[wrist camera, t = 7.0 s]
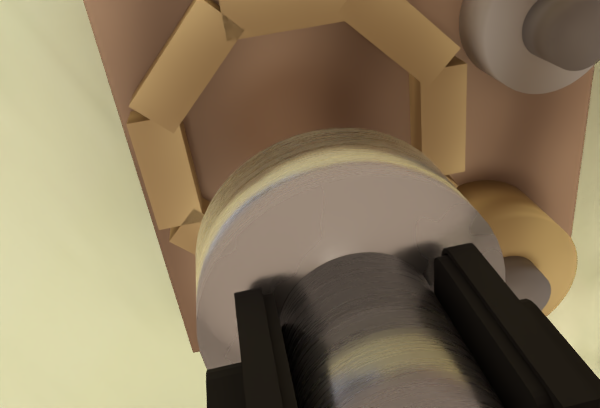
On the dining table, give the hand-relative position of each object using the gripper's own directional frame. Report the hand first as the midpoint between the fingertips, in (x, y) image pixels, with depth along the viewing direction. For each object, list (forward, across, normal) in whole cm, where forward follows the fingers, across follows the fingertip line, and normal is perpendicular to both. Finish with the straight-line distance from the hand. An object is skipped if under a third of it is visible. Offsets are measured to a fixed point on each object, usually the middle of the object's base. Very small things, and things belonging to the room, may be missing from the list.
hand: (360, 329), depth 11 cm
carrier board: (+12, -3, +2) cm, 13 cm away
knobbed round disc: (+3, 0, 0) cm, 3 cm away
